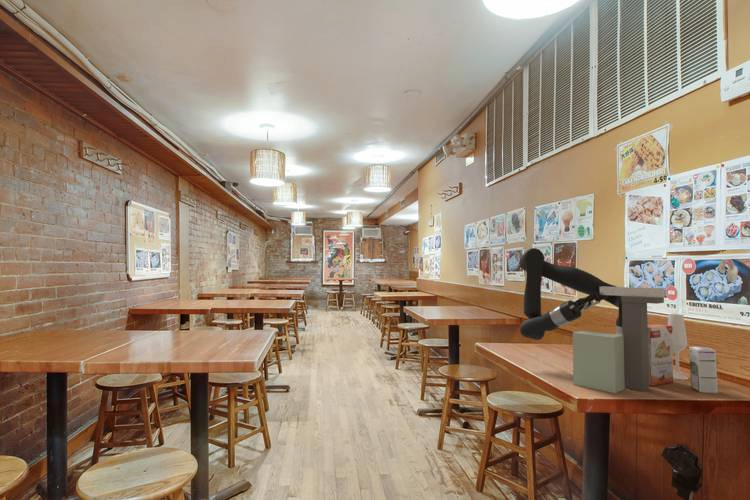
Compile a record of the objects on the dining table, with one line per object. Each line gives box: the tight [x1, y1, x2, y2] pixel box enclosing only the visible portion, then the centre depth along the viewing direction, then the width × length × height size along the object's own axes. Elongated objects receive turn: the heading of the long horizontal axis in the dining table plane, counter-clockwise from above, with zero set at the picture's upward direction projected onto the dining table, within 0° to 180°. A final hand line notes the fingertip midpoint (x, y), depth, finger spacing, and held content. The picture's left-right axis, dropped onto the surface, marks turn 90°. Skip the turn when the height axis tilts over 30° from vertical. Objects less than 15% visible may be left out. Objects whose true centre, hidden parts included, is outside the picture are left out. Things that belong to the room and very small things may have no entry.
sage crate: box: [572, 330, 626, 394], centre depth 149 cm, size 14×8×18 cm, turn 40°
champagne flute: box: [667, 313, 689, 381], centre depth 163 cm, size 7×7×24 cm
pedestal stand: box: [621, 296, 665, 392], centre depth 146 cm, size 11×7×32 cm, turn 40°
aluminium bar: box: [600, 286, 666, 298], centre depth 150 cm, size 20×3×3 cm, turn 40°
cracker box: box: [648, 323, 674, 387], centre depth 155 cm, size 14×6×21 cm, turn 117°
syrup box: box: [688, 346, 719, 394], centre depth 145 cm, size 6×6×14 cm
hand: (601, 294), depth 157 cm, fingers open, 8 cm apart
